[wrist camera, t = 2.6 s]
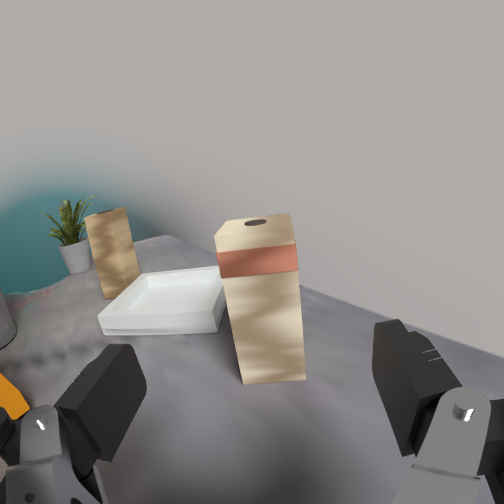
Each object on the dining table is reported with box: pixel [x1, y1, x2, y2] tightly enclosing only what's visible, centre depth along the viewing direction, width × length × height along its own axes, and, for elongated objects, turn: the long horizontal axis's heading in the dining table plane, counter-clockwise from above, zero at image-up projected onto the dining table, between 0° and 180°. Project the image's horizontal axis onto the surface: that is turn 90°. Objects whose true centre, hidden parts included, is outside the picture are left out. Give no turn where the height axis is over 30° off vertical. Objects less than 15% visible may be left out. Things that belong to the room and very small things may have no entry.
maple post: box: [215, 213, 306, 385], centre depth 21 cm, size 5×5×11 cm
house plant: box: [44, 196, 93, 274], centre depth 56 cm, size 14×14×16 cm
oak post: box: [84, 207, 140, 299], centre depth 40 cm, size 4×4×12 cm
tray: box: [97, 266, 227, 335], centre depth 35 cm, size 13×13×2 cm
